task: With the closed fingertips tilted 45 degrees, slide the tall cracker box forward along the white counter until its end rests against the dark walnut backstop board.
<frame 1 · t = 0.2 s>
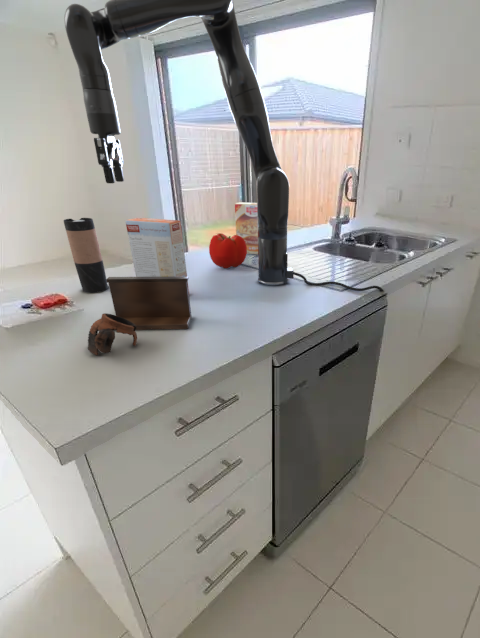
hand: (115, 182, 105), 29 cm above the worktop, tool pointing down, fingers open, 8 cm apart
coffeecake box: (255, 253, 160), on the worktop
walnut backstop: (155, 320, 93), on the worktop
tomato: (229, 267, 139), on the worktop
cracker box: (164, 295, 110), on the worktop
brown arched piece: (113, 349, 79), on the worktop
travel mug: (95, 289, 114), on the worktop
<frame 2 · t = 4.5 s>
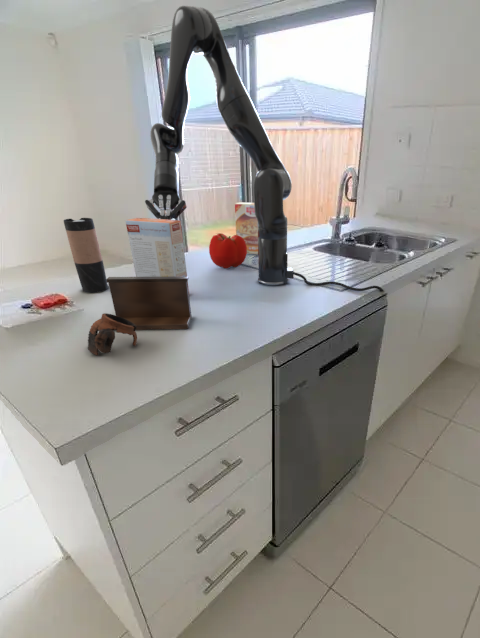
hand: (165, 228, 114), 16 cm above the worktop, tool tilted 45°, fingers closed
nothing on the worktop moved.
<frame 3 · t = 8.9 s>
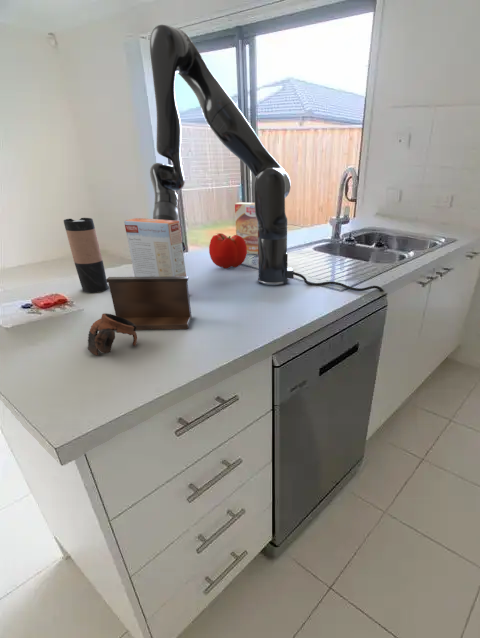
hand: (163, 272, 110), 6 cm above the worktop, tool tilted 45°, fingers closed
cracker box: (163, 296, 110), on the worktop, touching gripper
everything else where it was.
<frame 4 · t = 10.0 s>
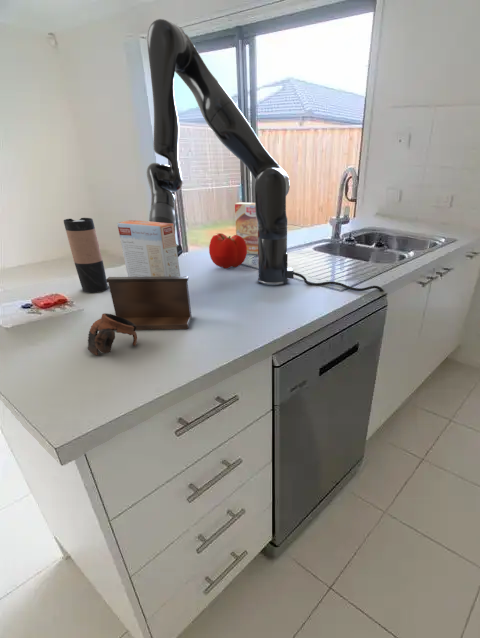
hand: (159, 275, 106), 6 cm above the worktop, tool tilted 45°, fingers closed
cracker box: (158, 300, 106), on the worktop, touching gripper
everything else where it was.
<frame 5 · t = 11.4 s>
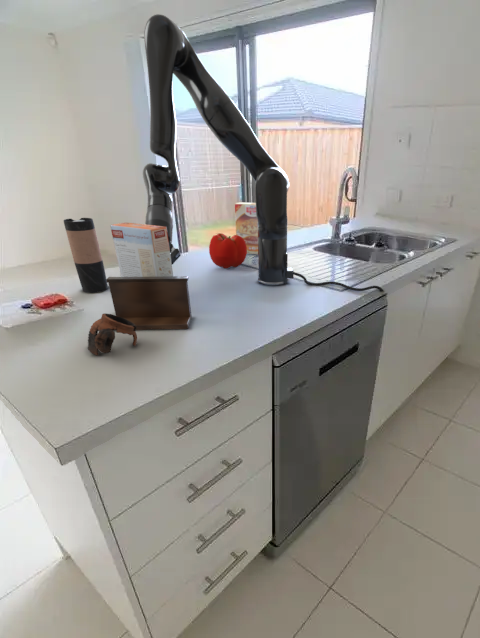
hand: (156, 280, 103), 6 cm above the worktop, tool tilted 45°, fingers closed
cracker box: (152, 306, 102), on the worktop, touching gripper
everything else where it was.
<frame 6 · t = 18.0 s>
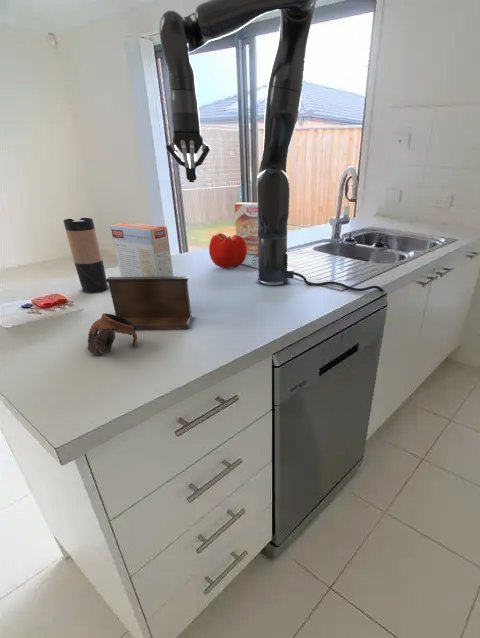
hand: (192, 182, 112), 29 cm above the worktop, tool pointing down, fingers closed
cracker box: (152, 306, 102), on the worktop
everything else where it was.
at the end: cracker box inside the target area (2.2 cm from its centre), on the worktop; cracker box tilted 0° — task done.
